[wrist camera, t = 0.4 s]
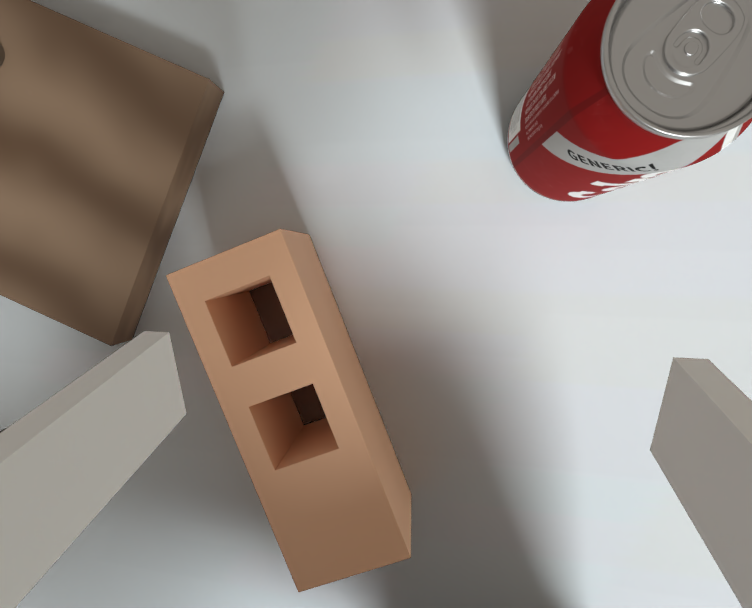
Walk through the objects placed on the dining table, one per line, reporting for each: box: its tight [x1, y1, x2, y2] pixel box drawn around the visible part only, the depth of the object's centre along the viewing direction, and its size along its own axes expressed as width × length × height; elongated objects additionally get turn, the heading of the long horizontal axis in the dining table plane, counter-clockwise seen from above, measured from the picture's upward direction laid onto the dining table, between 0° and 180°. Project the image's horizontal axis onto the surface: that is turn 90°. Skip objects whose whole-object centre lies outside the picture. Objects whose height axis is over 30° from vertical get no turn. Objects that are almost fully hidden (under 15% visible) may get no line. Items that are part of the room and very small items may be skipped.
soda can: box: [507, 0, 752, 201], centre depth 20 cm, size 7×7×12 cm
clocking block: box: [166, 229, 411, 592], centre depth 25 cm, size 17×6×6 cm, turn 21°
